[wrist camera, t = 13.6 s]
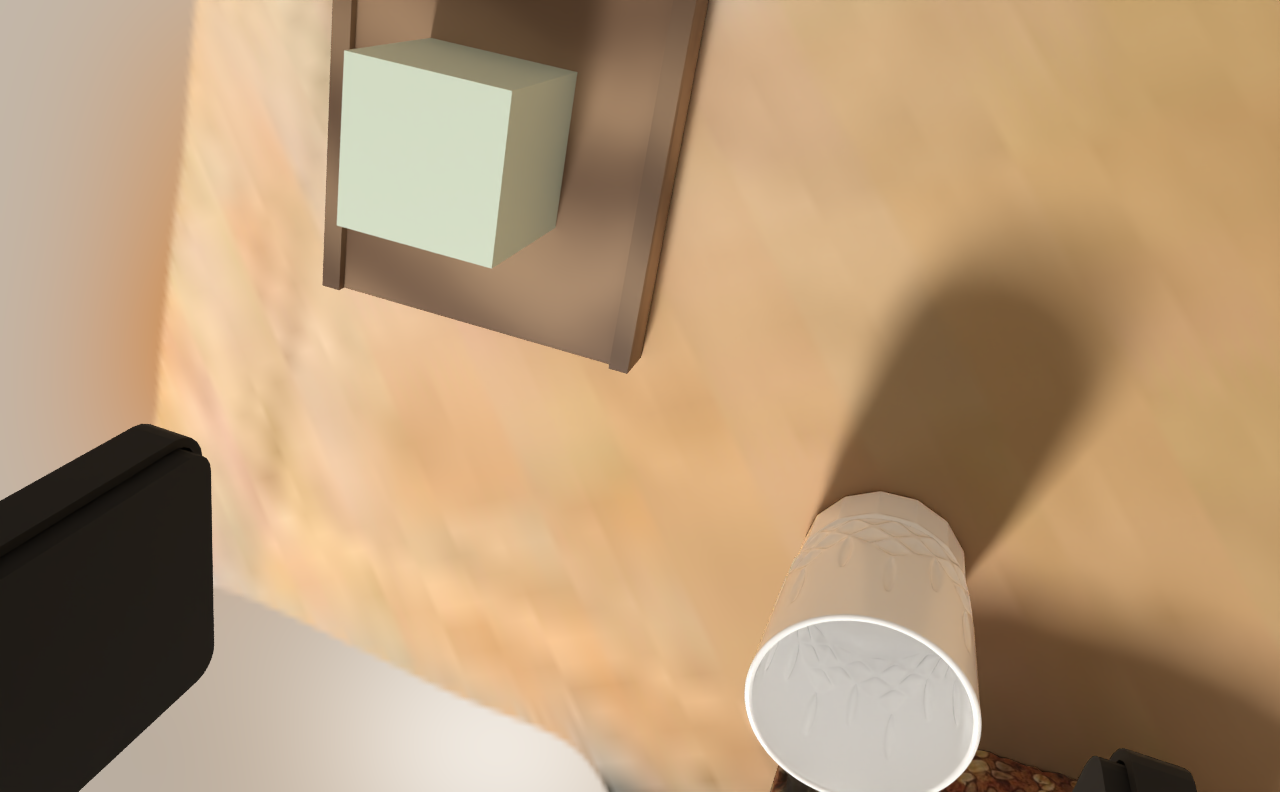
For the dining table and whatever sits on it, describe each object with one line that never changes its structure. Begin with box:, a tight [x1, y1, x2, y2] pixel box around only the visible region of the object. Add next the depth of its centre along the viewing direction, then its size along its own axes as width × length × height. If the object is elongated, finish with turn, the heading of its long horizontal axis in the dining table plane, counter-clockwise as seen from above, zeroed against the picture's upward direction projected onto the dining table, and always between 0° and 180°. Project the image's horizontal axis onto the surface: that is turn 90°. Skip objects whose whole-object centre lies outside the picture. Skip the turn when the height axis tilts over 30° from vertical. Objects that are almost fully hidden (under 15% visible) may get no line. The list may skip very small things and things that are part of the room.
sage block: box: [337, 38, 577, 269], centre depth 36 cm, size 6×6×6 cm
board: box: [323, 0, 709, 374], centre depth 40 cm, size 16×14×2 cm
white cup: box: [745, 491, 982, 792], centre depth 39 cm, size 8×8×10 cm
